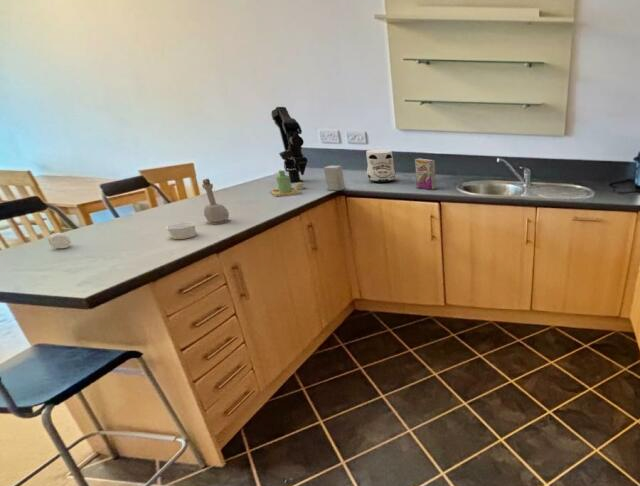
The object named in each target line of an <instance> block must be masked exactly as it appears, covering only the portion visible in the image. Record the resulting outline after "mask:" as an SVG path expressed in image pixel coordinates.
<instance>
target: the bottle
mask: <svg viewBox="0 0 640 486" xmlns="http://www.w3.org/2000/svg"><path fill="white" fill-rule="evenodd" d="M278 174H279V175H277V176H276V177H275V179H276V183H277V189H279V192H280V193H290V192H292V188H293V187H292V182H290V178H289V175H287V174H286V173H285V169H280V170H278Z"/></svg>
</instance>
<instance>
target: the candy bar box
mask: <svg viewBox="0 0 640 486" xmlns="http://www.w3.org/2000/svg"><path fill="white" fill-rule="evenodd" d="M414 168H415V169H414V170H415V180H416V181H415V183H416V184H415V185H416V189H425V190H430V191H433V190H436V189H437V177H436V160H434V159H426V158H420V157H419V158H415V159H414Z"/></svg>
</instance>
